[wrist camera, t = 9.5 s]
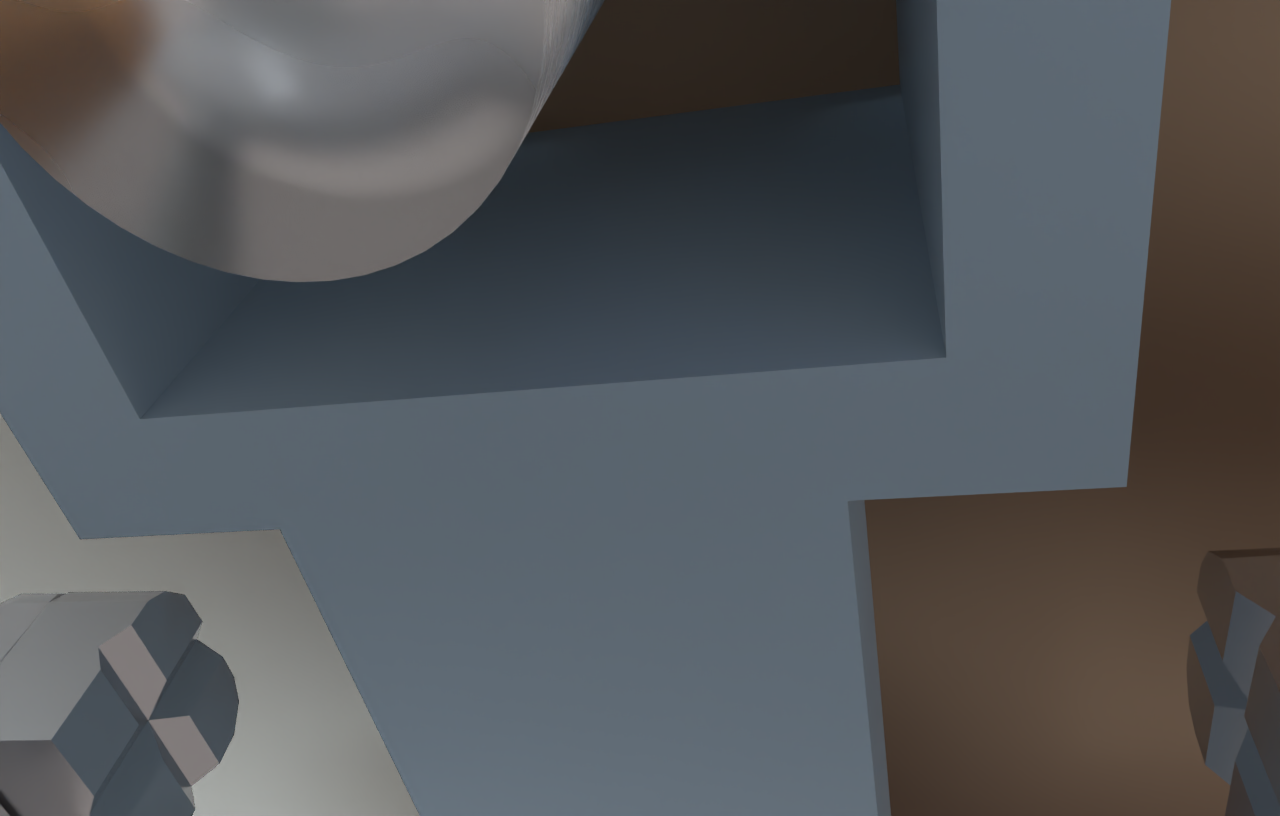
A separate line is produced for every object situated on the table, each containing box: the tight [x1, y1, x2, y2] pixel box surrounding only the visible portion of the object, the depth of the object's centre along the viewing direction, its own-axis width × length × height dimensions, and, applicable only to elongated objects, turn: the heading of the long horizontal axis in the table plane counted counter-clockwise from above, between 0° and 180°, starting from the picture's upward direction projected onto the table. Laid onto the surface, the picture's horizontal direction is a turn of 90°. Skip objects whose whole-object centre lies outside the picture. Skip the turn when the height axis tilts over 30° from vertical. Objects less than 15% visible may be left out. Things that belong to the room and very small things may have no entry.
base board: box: [528, 0, 1280, 816], centre depth 10 cm, size 22×15×1 cm
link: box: [0, 0, 1171, 816], centre depth 9 cm, size 17×6×4 cm, turn 10°
